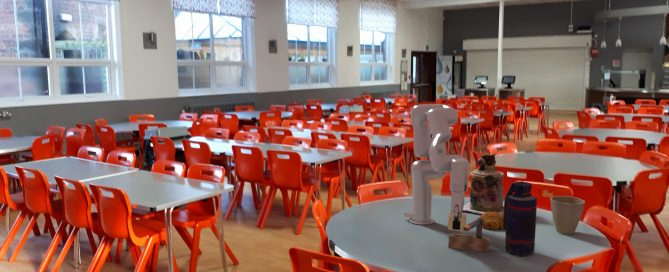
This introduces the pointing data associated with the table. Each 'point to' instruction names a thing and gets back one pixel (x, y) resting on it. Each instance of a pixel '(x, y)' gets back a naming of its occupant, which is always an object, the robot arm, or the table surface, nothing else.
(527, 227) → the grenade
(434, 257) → the table surface
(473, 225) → the lever
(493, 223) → the croissant
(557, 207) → the plant pot
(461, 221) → the brushed brass block
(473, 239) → the plane body
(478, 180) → the cookie jar
